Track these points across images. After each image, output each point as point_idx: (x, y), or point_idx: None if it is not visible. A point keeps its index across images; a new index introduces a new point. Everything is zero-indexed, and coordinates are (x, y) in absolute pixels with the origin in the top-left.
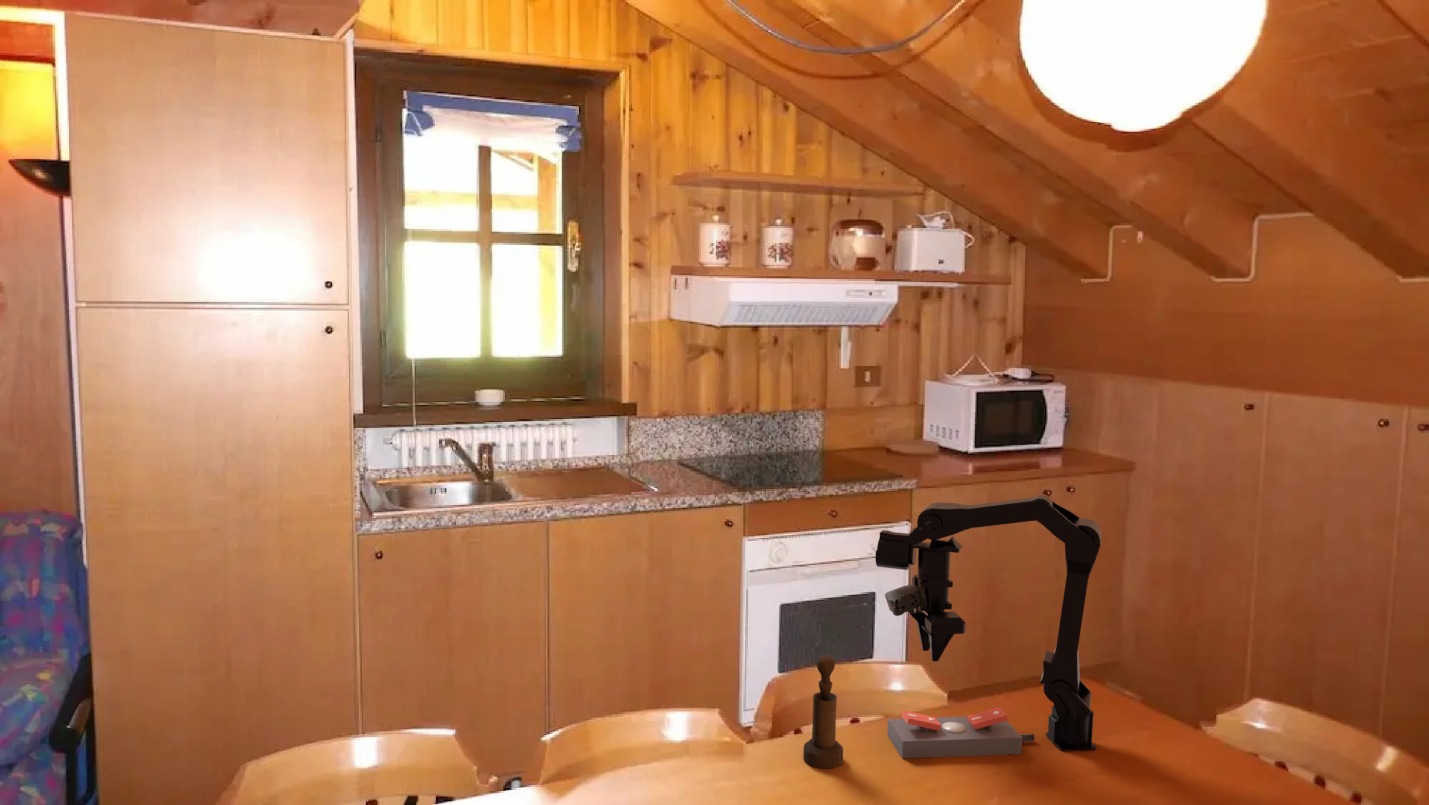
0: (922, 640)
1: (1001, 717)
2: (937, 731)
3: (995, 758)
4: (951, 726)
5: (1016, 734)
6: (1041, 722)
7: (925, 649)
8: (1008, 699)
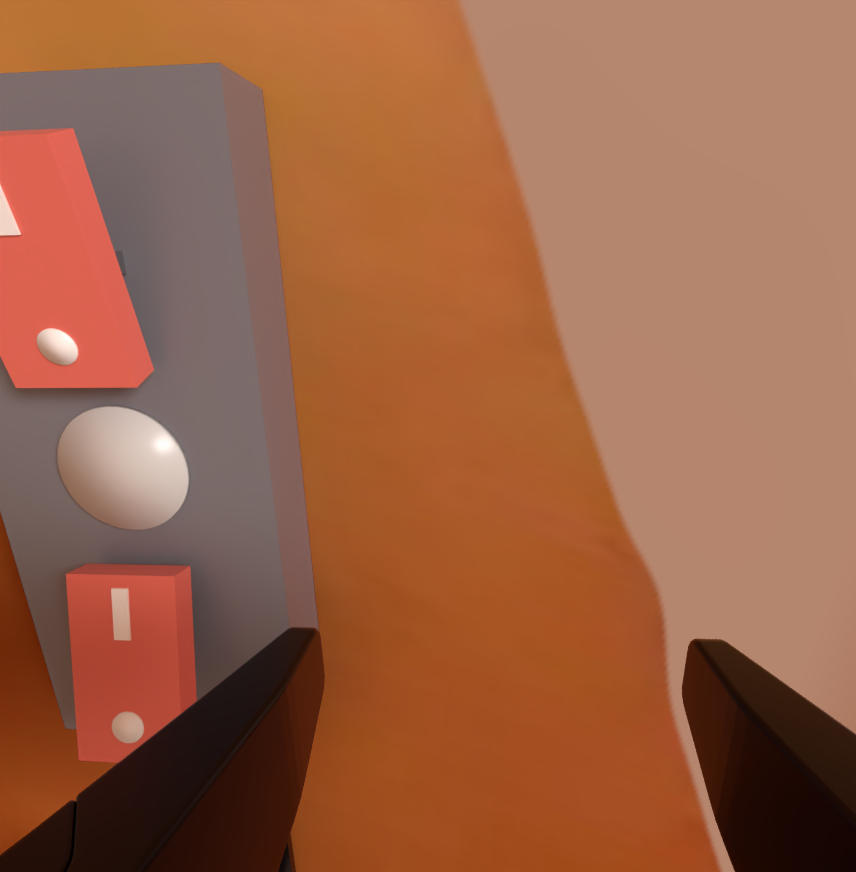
0: (762, 749)
1: (79, 728)
2: None
3: None
4: (125, 459)
5: None
6: (412, 841)
7: (690, 675)
8: (660, 824)
